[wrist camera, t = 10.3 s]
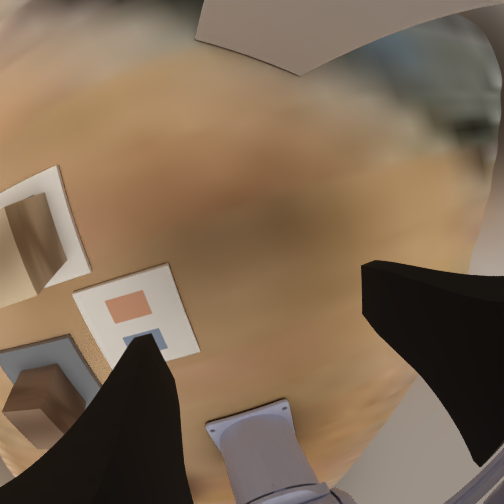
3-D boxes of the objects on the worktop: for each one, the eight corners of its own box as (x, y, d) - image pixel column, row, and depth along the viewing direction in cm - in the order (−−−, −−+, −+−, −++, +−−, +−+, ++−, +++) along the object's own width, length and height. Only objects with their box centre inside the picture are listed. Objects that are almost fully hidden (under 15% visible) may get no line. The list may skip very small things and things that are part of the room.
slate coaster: (122, 413, 21) (122, 417, 20) (49, 422, 19) (47, 425, 19) (69, 334, 17) (68, 337, 17) (-5, 351, 16) (-7, 355, 15)
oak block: (67, 260, 15) (37, 295, 11) (18, 278, 15) (-16, 313, 10) (44, 192, 14) (4, 206, 9) (-5, 216, 13) (-47, 237, 8)
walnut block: (86, 402, 19) (77, 447, 14) (49, 407, 18) (38, 449, 14) (57, 363, 17) (40, 408, 13) (20, 371, 16) (1, 412, 12)
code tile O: (92, 270, 17) (90, 272, 16) (16, 295, 15) (14, 298, 15) (58, 165, 14) (56, 165, 14) (-17, 204, 13) (-20, 205, 12)
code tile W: (199, 348, 20) (200, 351, 20) (115, 370, 19) (114, 373, 19) (168, 262, 18) (168, 265, 17) (73, 291, 17) (71, 294, 16)
